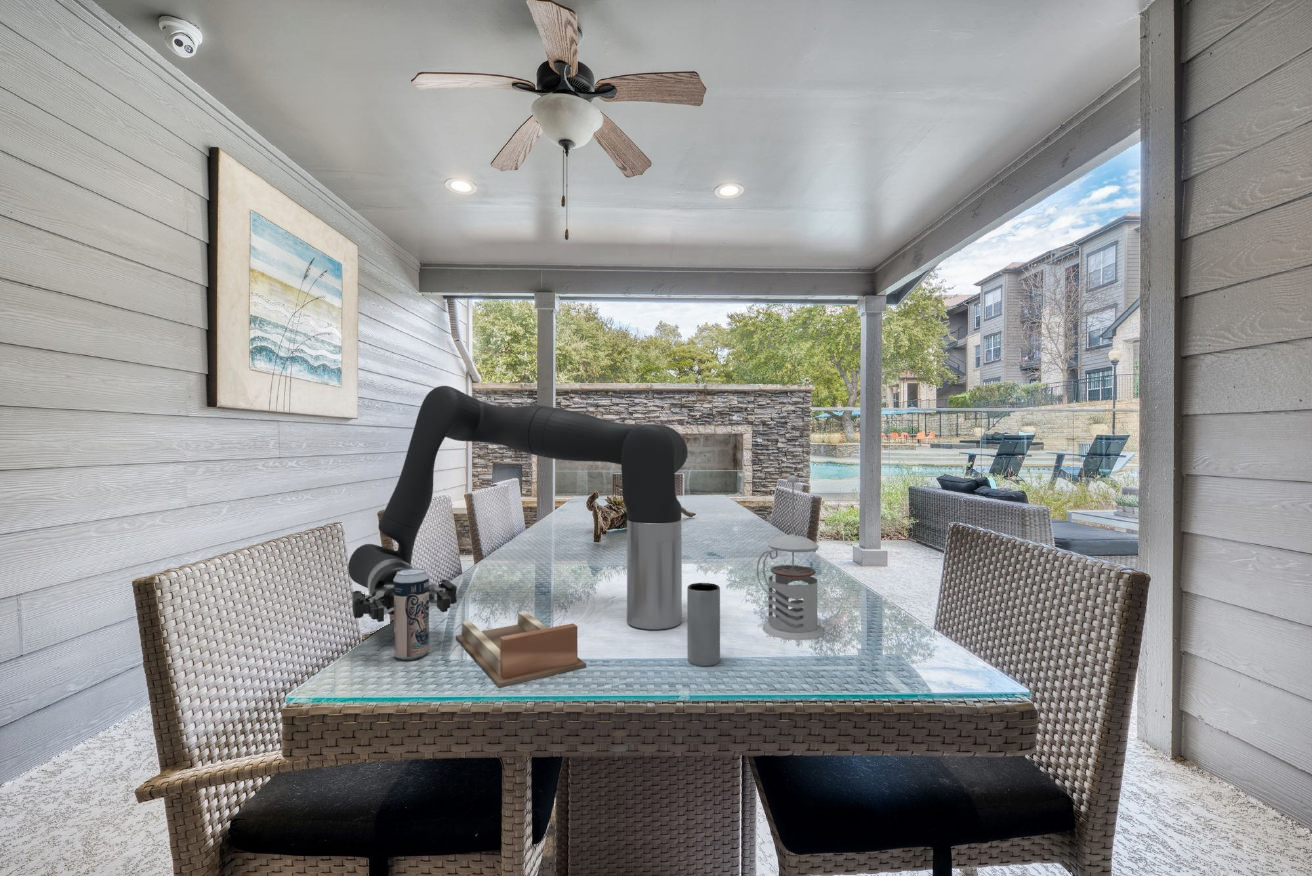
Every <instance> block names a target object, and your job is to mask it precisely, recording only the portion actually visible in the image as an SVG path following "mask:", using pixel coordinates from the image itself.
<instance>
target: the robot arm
mask: <svg viewBox="0 0 1312 876" xmlns="http://www.w3.org/2000/svg"><path fill="white" fill-rule="evenodd" d="M411 435H412V436H411V439H410V441H409V445H408V449H407V452H406V455H405V460H404V463H403V466H402V469H401V473H400V476H399V478H398V481H397V483H396V485H395V487H394V490H393V492H392V494H391V497H390V499H389V501H388V503H387V505H386V507H385V510H384V512H383V514H382V516H381V517H380V520H379V522H378V530H379V532H380V533H381V534H383V535H384V536H386V537H388V538H390V539H392V540H393V541H395V542H396V543H397V544H398V545H397V547H398V548H397V549H396V550H394V549H390V548H386V547H384V546H380V545H377V544H372V543H364V544H363V545H360V546H359V547H357V548H356V549H355V550H354V551H353V553H352V554H351V556H350V558H349V561H348V565H347V567H348V568H347V570H348V575H349V577H350V579H351V580H352V581H353V582H354V583H355V584H358V585H360V586H361V587H364V588H366V589H368V590H367V591H368V594H366V592H362V591H361V590H355V591H352V592H351V594H352V595H351V599H352V600H351V604H352V605H351V606H352V607H351V608H352V613H353V615H352V616H353V618H355V619H360V618H363V617H364V615H368V617H369V618H370V619H372V620H376V621H377V623H381V622H384V621H385V615H387V614H388V615H391V616H392V615H393V616H394V581H393V579H394V578H395V576H396V574H397V572H398V571H401V570H406V569H415V568H414V567H413V566H412V558H413V557H412V556H413V552H414V547H415V542H416V538H417V536H418V533H419V530H420V528H421V526H422V524H423V522H424V520H425V518H426V515H427V514H428V511H429V508H430V506H431V503H432V499H433V495H434V494H433V493H434V474H435V473H434V471H435V463H436V460H437V459H436V457H437V455H438V452H439V450H440V447H441V445H442V443H443V441H445V438H448V439H449V440H454V441H459V442H471V443H472V442H473V443H485V444H495V445H500V446H503V447H506V448H509V449H513V450H515V451H519V452H521V453H524V454H530V455H533V456H538V457H542V458H547V459H553V460H558V461H559V460H560V461H561V460H562V461H568V462H569V461H570V462H601V463H603V462H604V463H611V464H616V465H620V466H621V486H622V487H621V490H622V491H621V492H622V501H623V504H624V507H625V508H626V509H625V510H626V593H627V594H626V622H627V624H628V625H629V626H631V627H634V628H638V629H641V630H642V629H643V630H666V629H671V628H674V627H677V626H679V625H680V624H682V616H683V613H682V612H683V611H682V610H683V609H682V608H683V606H682V605H683V603H682V601H683V600H682V598H683V590H682V588H683V575H682V573H683V569H682V568H683V567H682V563H683V561H682V559H683V558H682V554H683V553H682V547H683V546H682V540H683V539H682V504H681V502H680V501H679V500H678V497H677V494H676V473H677V472H679V470H681V469H682V468H683V466H684V465H685V464H686V461H687V459H688V453H689V452H688V451H689V450H688V445H687V443H686V441H685V439H684V437H683V436H682V435H681V433H679V431H677V430H675V429H674V428H672V427H670V426H668V425H664V424H632V423H629V424H628V423H621V422H615V421H610V420H606V419H603V418H600V417H596V416H594V415H591V414H586V413H582V412H578V411H574V410H569V409H564V408H559V407H553V406H547V405H541V404H540V405H539V404H536V405H534V404H533V405H531V404H530V405H523V406H519V407H518V406H516V407H504V406H500V405H495V404H491V403H488V402H485V401H482V400H479V399H477V398H475V397H473V396H471V395H468V394H467V393H465V392H462V391H461V390H459V389H457V388H455V387H453V386H450V385H439V386H437V387H435V388H432V389H431V391H429V392H428V393H427V394H426V396H425V397H424V399H423V401H422V402H421V405H420V408H419V410H418V414H417V417H416V420H415V425H414V429H413V431H412V434H411ZM457 588H458V587H457V586H456V584H454V583H453V582H451V581H449V580H448V579H441V580H439V583H438V585H435V584H433V583H429V609H430V608H432V607H436V608H437V609H438V610H439V611H440V612H441V613H447V612H448V609H450V608H452V605H454V604H457V603H458V602H457V601H458V599H457V590H458V589H457ZM435 596H436V598H435Z"/></svg>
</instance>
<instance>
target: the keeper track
mask: <svg viewBox="0 0 1312 876" xmlns="http://www.w3.org/2000/svg"><path fill="white" fill-rule="evenodd" d="M455 640H456V642H458V643H459V644H460V646H461V647H462V648H463V649H464V650H465V651H466V652H467V653H468V654H469V656H470V657H471V658H472V659H473V660H474V661H475V663H476V664H478V665H479V667H480V668H481V669H482V670H483V671H484V672H485V674H486V675H487V676H488V677H489V678H490V679H491V680H492V682H493V683H494V684H495V685H496V686H497V687H498V688H504V687H508V686H513V685H515V684H516V685H517V684H521V683H524V682H529V681H533V680H537V679H541V678H546V677H550V676H554V675H557V674H563V673H567V672H571V671H575V670H579V669H584V668H587V663H586V662H585V661H584V660H582V659H581V658H580V657H578V652H579V651H578V647H579V646H578V625H576V624H575V623H568V624H564V625H563V624H562V625H557V626H551V627H548V626H547V625H545V624H544V623H543V622H541V621H540V620H538V619H537V618H535V617H534V616H532V615H531V614H529V612H527V611H525V610H524V611H519V612H517V624H514V625H513V624H512V625H508V626H502V627H496V628H490V629H486V630H480V629H479V628H478V627H477V626H476V625H475V624H474V623H473V622H472V621H471V620H464V621H461V634H458V635H457V634H456V635H455Z"/></svg>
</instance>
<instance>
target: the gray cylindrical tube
mask: <svg viewBox="0 0 1312 876" xmlns="http://www.w3.org/2000/svg"><path fill="white" fill-rule="evenodd" d="M686 591H687V594H686V595H687V596H686V597H687V602H686V603H687V606H686V607H687V608H686V609H687V614H686V615H687V628H686V629H687V640H686V641H687V649H686V650H687V651H686V652H687V661H688V662H689V663H690V664H692V665H693V666H694V665H695V666H699V667H711V666H715V665H717V664H719V663H720V661H721V587H720V585H718V584H715V583H711V582H710V583H709V582H694V583H691V584H689V585H688V586H687V590H686Z"/></svg>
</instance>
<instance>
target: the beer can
mask: <svg viewBox="0 0 1312 876" xmlns="http://www.w3.org/2000/svg"><path fill="white" fill-rule="evenodd" d="M393 581H394V615H393V656H394V657H395V658H397V659H399V660H401V661H402V660H403V661H412V660H417V659H420V658H422V657H424V656H425V655H427V654H428V653H429V652H430V608H429V584H430V575H429V574H428V572H427V570H426V569H425V568H414V569H406V570H401V571H398V572H397V574H396V576H395V578H394V579H393Z"/></svg>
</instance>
